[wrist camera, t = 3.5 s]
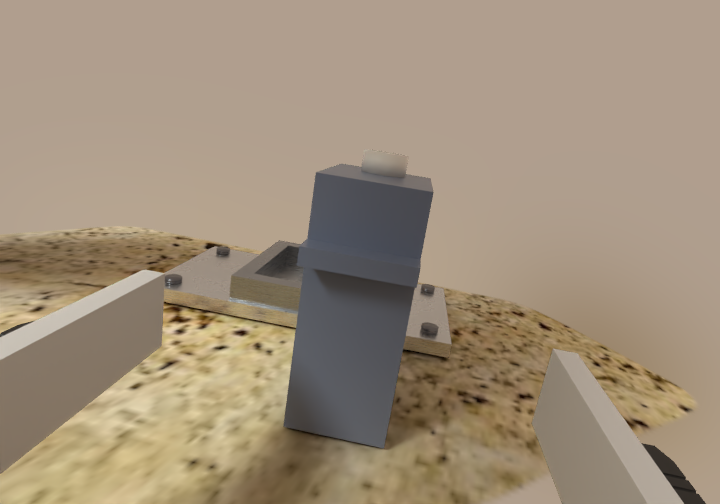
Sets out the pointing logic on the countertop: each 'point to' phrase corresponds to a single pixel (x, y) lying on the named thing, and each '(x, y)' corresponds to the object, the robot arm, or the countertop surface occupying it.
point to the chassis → (285, 292)
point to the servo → (356, 296)
